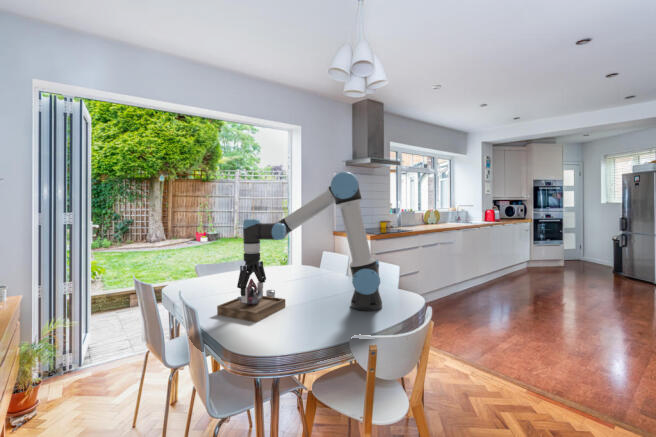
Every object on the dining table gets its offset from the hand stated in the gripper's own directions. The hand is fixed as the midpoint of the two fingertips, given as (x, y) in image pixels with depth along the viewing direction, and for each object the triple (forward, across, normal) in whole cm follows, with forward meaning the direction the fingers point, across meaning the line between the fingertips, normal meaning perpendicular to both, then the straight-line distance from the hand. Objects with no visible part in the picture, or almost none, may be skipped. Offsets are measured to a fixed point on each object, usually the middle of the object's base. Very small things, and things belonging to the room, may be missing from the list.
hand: (252, 299), depth 150 cm
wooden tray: (+5, 0, 0) cm, 5 cm away
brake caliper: (+2, 0, -1) cm, 2 cm away
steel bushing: (+5, -17, -2) cm, 18 cm away
